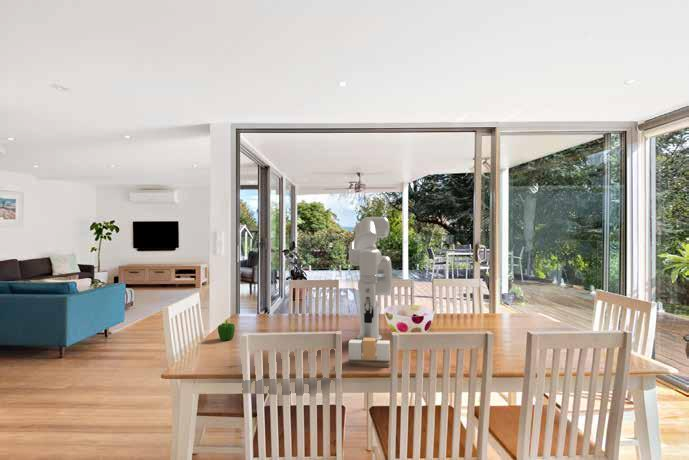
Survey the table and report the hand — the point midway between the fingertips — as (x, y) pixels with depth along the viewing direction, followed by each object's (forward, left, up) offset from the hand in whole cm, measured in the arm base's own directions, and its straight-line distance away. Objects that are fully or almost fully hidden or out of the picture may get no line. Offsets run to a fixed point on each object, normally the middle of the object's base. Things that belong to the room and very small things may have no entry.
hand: (369, 320), depth 178 cm
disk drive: (-22, -5, -19) cm, 29 cm away
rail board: (0, 0, -18) cm, 18 cm away
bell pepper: (-29, -76, -18) cm, 83 cm away
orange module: (0, 0, -16) cm, 16 cm away
